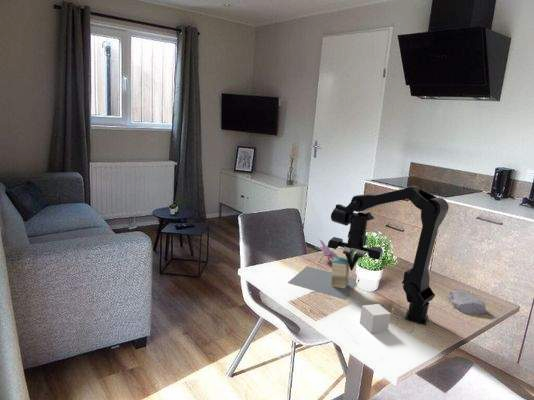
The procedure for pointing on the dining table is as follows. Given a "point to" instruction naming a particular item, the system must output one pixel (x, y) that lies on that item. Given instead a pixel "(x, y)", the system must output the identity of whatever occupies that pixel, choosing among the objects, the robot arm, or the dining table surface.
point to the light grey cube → (374, 318)
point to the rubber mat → (321, 282)
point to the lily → (327, 251)
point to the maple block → (340, 272)
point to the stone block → (467, 302)
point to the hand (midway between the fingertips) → (351, 269)
